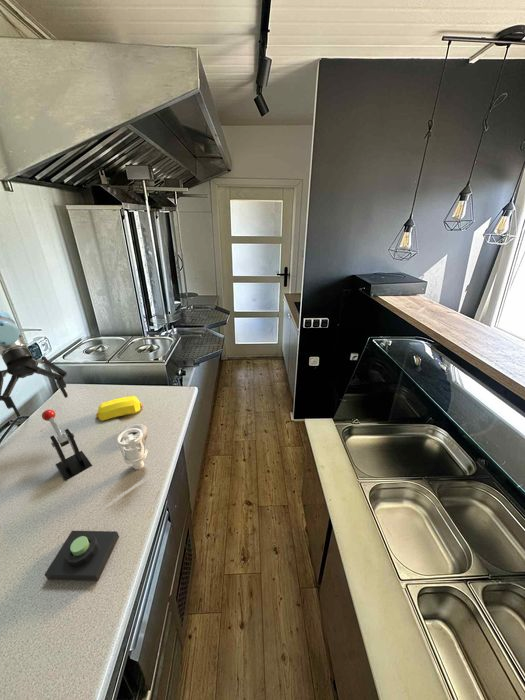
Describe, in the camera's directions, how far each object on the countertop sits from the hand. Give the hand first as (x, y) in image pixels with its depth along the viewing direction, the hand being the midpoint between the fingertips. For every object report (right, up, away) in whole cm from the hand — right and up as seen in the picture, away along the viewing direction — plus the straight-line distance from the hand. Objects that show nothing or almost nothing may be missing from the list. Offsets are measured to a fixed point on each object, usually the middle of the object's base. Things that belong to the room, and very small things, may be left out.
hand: (43, 405), depth 95 cm
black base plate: (+30, -32, -25) cm, 51 cm away
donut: (+25, -15, +12) cm, 31 cm away
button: (+30, -29, -27) cm, 49 cm away
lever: (+6, -8, -2) cm, 10 cm away
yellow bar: (+13, -8, +25) cm, 30 cm away
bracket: (+11, -21, 0) cm, 23 cm away
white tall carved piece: (+32, -21, -1) cm, 39 cm away
